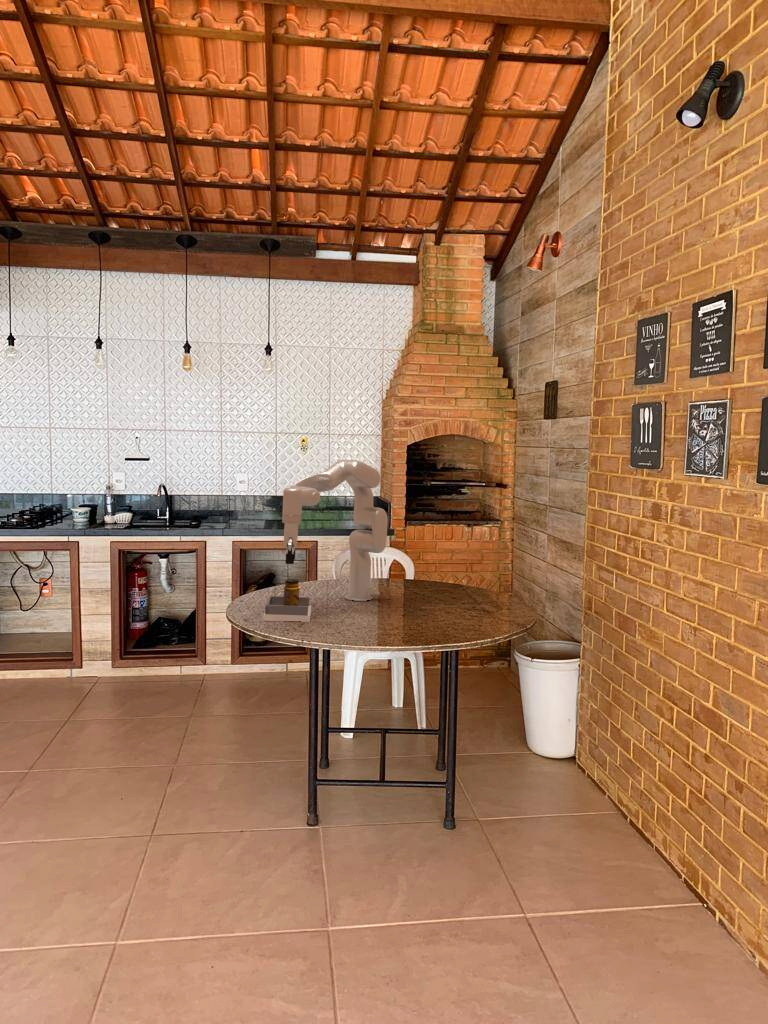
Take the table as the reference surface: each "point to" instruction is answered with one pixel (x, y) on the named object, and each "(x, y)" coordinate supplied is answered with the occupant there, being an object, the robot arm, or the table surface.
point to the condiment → (291, 593)
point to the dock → (287, 610)
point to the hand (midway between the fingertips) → (290, 561)
